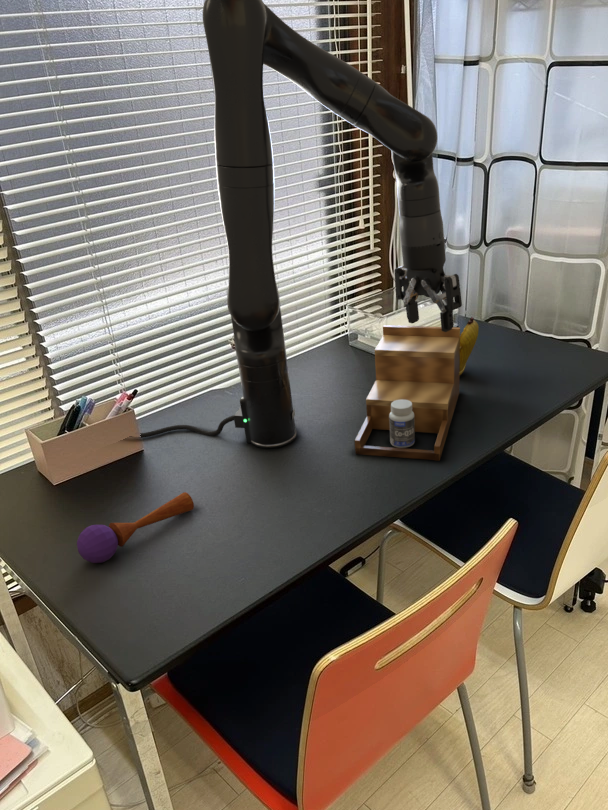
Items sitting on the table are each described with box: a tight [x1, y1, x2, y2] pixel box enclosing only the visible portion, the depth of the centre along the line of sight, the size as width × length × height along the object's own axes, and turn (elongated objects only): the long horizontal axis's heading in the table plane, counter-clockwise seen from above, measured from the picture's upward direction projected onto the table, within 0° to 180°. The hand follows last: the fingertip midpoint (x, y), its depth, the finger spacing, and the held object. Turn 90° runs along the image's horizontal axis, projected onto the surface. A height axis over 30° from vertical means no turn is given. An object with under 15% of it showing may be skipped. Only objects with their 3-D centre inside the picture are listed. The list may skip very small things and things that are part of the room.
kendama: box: [76, 491, 195, 564], centre depth 115 cm, size 6×6×20 cm
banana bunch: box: [459, 316, 480, 377], centre depth 156 cm, size 12×8×15 cm
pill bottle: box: [389, 399, 416, 449], centre depth 134 cm, size 5×5×8 cm
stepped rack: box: [354, 324, 461, 461], centre depth 139 cm, size 16×28×15 cm, turn 165°
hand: (430, 326), depth 131 cm, fingers open, 8 cm apart
